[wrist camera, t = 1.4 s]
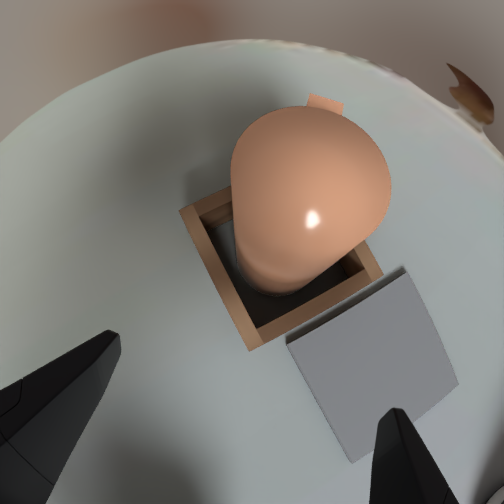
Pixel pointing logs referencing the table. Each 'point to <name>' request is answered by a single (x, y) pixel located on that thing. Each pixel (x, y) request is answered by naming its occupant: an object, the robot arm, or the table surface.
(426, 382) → the mat
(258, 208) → the tan dome with tab
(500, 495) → the dark grey egg shape
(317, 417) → the table surface
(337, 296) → the holder
